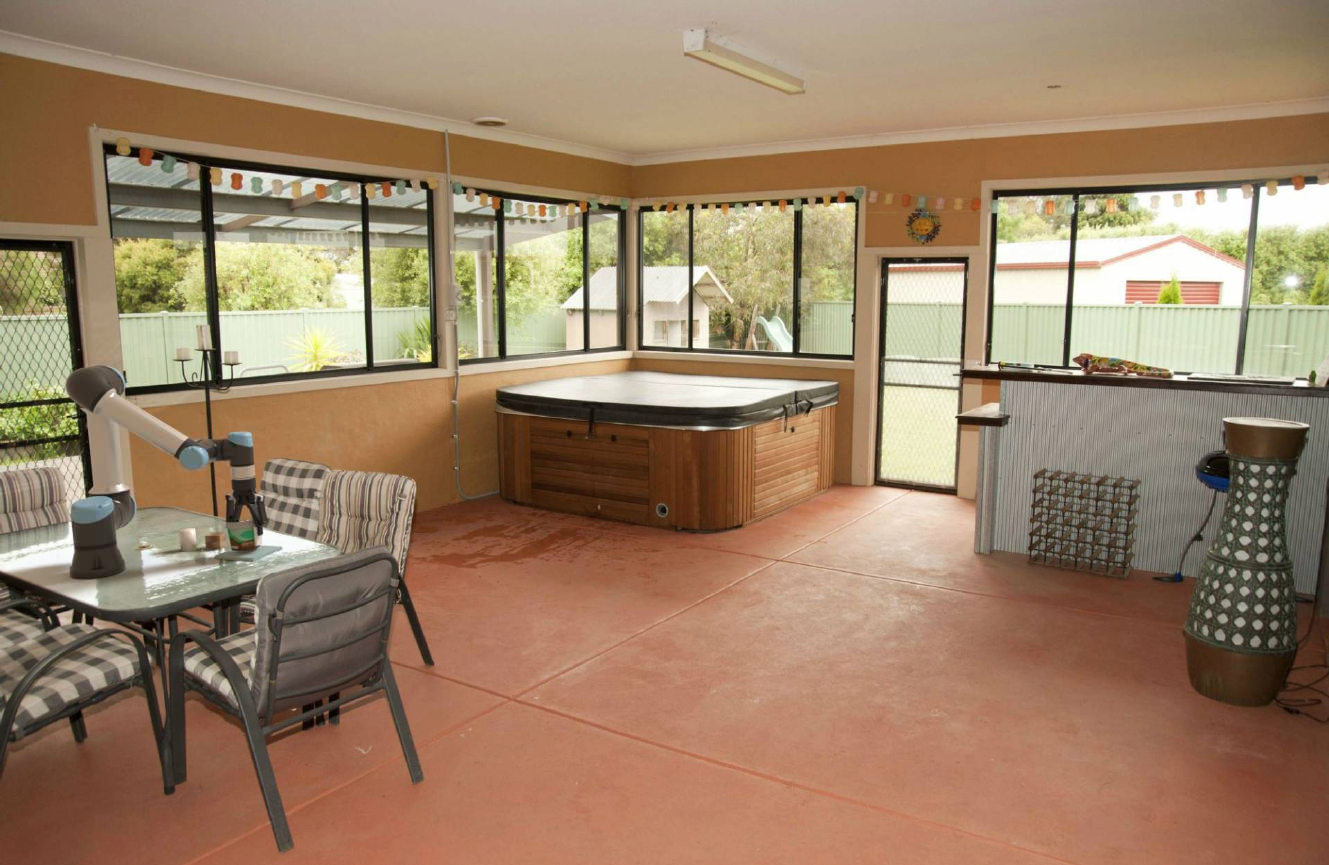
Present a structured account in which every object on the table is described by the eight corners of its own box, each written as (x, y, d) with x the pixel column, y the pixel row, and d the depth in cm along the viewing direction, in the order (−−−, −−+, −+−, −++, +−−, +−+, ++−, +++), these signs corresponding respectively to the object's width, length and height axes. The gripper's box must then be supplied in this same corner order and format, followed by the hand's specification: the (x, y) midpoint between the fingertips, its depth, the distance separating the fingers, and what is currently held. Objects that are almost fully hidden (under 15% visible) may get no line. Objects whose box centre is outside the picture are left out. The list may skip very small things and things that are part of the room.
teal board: (214, 558, 310) (214, 555, 309) (244, 547, 324) (244, 544, 324) (253, 561, 306) (253, 558, 306) (282, 549, 320) (282, 546, 320)
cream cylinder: (177, 550, 320) (175, 531, 319) (188, 547, 325) (186, 527, 324) (189, 551, 319) (188, 531, 318) (200, 547, 324) (198, 528, 323)
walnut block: (206, 549, 321) (204, 535, 321) (212, 546, 326) (211, 532, 326) (220, 549, 321) (219, 535, 321) (227, 545, 326) (226, 532, 326)
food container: (236, 554, 308) (234, 524, 306) (227, 551, 311) (224, 522, 310) (271, 545, 318) (269, 517, 316) (261, 543, 321) (259, 514, 320)
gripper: (276, 476, 312) (281, 542, 316) (225, 474, 317) (230, 539, 320) (261, 480, 305) (267, 548, 308) (209, 478, 310) (215, 545, 313)
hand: (248, 544), depth 314 cm, fingers closed on food container, 7 cm apart
